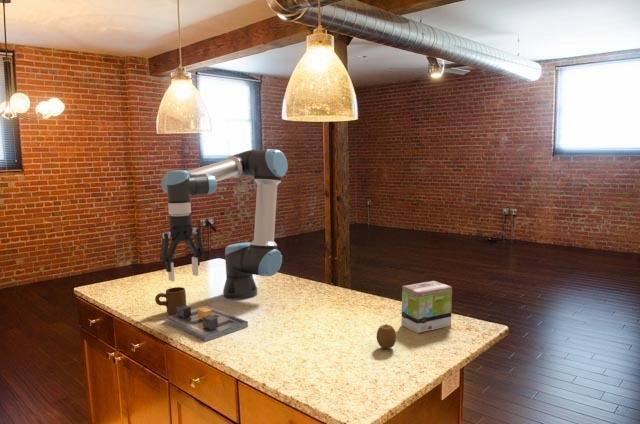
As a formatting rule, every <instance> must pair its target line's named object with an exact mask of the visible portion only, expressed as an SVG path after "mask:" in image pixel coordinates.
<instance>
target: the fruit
mask: <svg viewBox="0 0 640 424" xmlns="http://www.w3.org/2000/svg"><path fill="white" fill-rule="evenodd" d="M376 342H377V344H378V346H380V348H382V349H384V350H388V349H391V348H393V347H394V346H395V344H396V343H397V333H396V330H395V328H394V327H393V326H392V325H391V324H387V323H386V324H382V325H380V326H379V327H378V329H377V332H376Z"/></svg>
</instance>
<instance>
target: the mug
mask: <svg viewBox="0 0 640 424" xmlns="http://www.w3.org/2000/svg"><path fill="white" fill-rule="evenodd" d="M160 298H165V300H161V299H160ZM154 300H155V303H156V305H158V306H163V307H166V313H167V314H168V316H170V315H174V314H177V306H180V305H183V304H184V305H187V295H186V289H185V288H184V287H183V286H182V287H181V286H180V287H179V286H177V287H176V286H175V287H170V288H167V289H166V290H165V293H164V292H160V293H157V294H156V296H155V299H154Z"/></svg>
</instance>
